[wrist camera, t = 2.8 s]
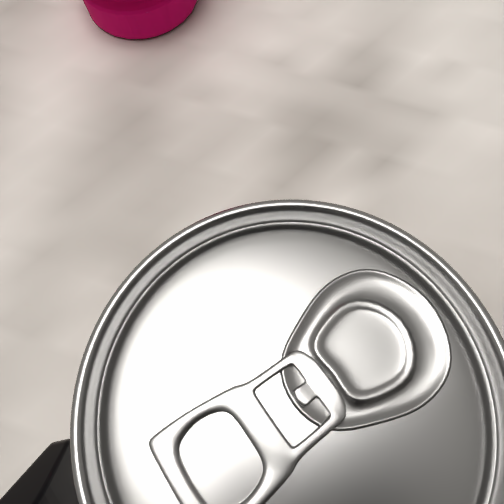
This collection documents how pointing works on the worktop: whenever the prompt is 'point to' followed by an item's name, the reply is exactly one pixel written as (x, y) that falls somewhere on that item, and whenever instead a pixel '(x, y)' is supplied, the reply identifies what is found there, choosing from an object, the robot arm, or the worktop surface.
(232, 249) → the can
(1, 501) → the robot arm
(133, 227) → the worktop surface
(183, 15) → the pepper mill
